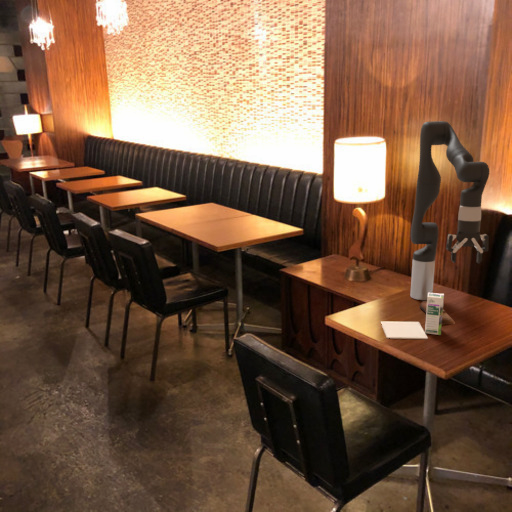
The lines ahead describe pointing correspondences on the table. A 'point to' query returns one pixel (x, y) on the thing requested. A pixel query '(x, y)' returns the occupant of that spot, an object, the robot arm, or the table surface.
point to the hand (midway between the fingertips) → (465, 262)
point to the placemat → (403, 330)
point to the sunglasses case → (445, 317)
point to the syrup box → (434, 313)
